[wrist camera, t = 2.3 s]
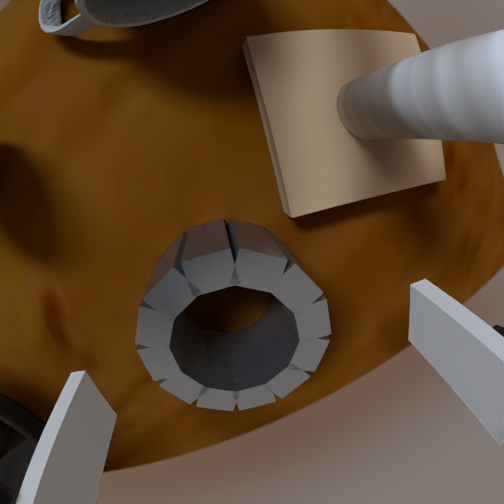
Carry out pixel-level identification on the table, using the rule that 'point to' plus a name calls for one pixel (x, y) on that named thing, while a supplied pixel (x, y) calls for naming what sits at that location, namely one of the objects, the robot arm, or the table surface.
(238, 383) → the ring
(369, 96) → the shaft stand
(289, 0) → the table surface
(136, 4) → the ceramic mug
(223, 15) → the table surface
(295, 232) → the table surface
